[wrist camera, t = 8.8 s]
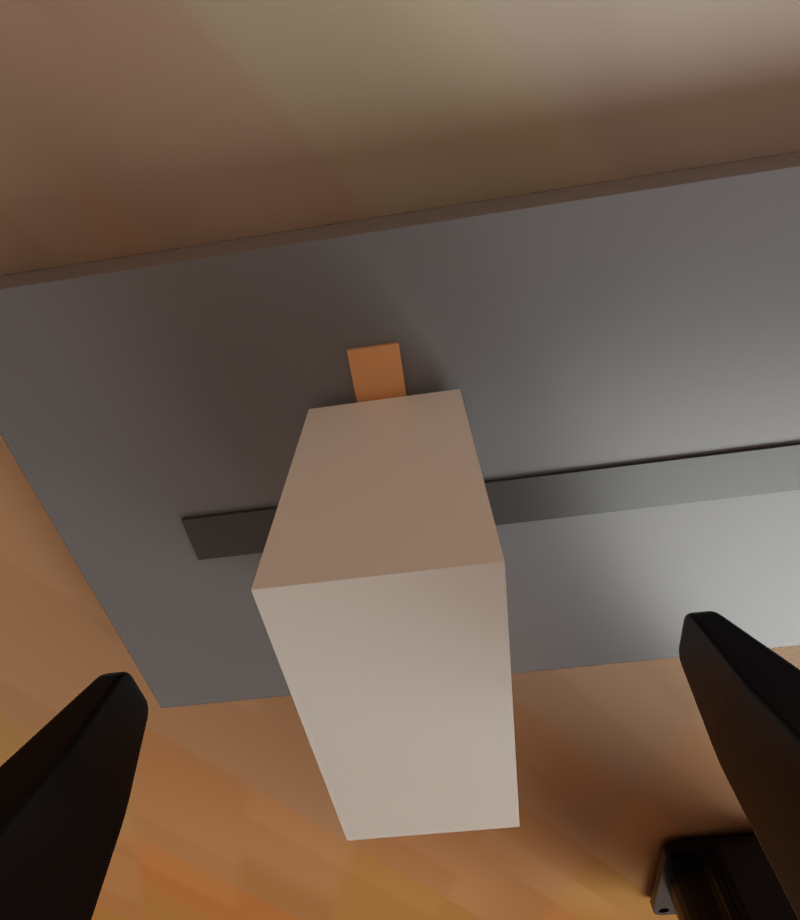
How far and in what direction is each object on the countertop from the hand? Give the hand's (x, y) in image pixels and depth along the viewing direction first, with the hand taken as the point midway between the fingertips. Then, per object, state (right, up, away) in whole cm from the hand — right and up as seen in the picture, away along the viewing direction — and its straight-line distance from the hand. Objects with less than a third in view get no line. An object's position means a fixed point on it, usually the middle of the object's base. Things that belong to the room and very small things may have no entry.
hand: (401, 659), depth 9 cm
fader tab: (0, +2, +3) cm, 4 cm away
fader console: (+7, +4, +5) cm, 9 cm away
